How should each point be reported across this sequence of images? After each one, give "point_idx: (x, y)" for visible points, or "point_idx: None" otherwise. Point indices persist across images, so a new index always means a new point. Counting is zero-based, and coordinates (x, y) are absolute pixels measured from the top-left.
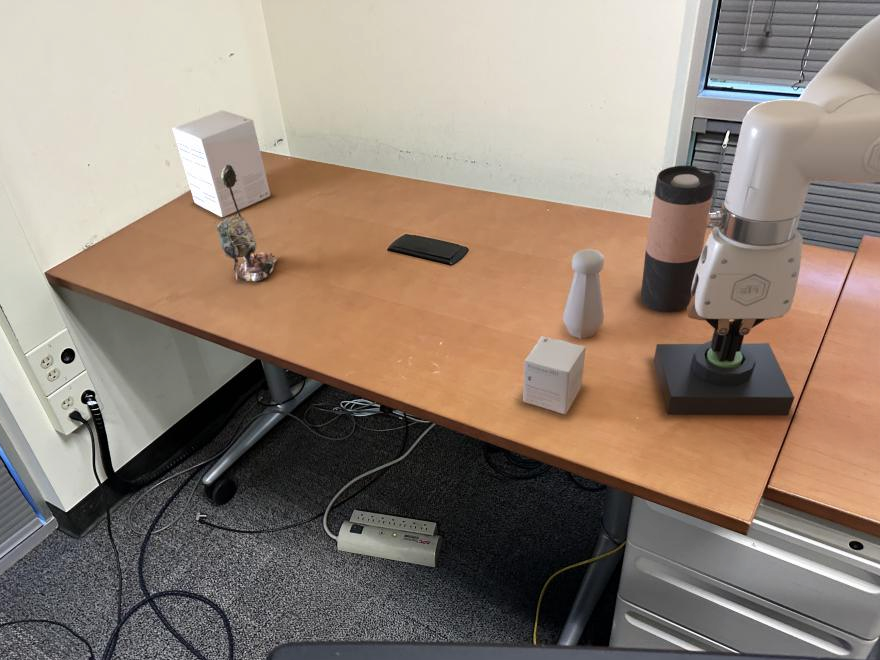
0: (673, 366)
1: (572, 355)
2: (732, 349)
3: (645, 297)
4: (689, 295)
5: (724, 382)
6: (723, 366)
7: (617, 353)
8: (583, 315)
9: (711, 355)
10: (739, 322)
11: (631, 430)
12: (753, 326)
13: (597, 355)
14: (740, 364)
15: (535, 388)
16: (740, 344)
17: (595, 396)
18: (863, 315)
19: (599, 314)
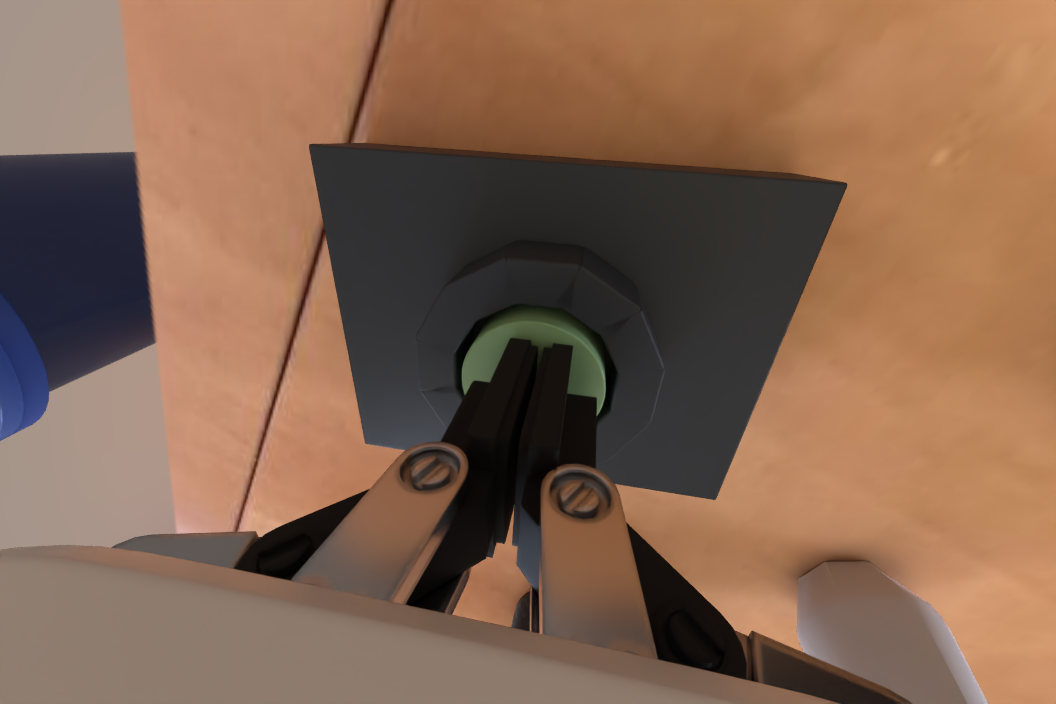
0: (717, 385)
1: None
2: (516, 377)
3: None
4: (523, 627)
5: (566, 249)
6: (558, 320)
7: (791, 492)
8: (945, 664)
9: (591, 391)
10: (447, 545)
11: (1034, 57)
12: (363, 495)
13: (862, 495)
14: (478, 335)
15: None
16: (466, 405)
17: (1028, 308)
18: (186, 498)
19: (858, 648)
